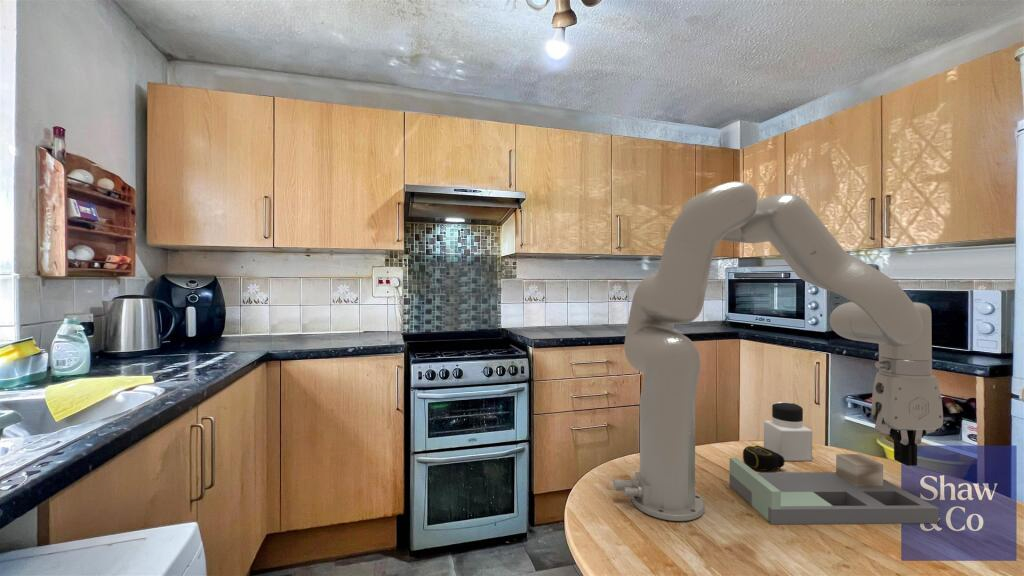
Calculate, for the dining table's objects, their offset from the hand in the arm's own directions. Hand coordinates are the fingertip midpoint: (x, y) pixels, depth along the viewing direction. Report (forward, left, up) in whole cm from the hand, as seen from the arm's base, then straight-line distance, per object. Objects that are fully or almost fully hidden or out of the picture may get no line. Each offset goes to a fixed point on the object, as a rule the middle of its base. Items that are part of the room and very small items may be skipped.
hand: (905, 462), depth 84 cm
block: (-9, 0, -3) cm, 10 cm away
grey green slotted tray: (-18, -4, -6) cm, 19 cm away
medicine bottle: (-11, +18, -6) cm, 22 cm away
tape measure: (-20, +13, -6) cm, 25 cm away
